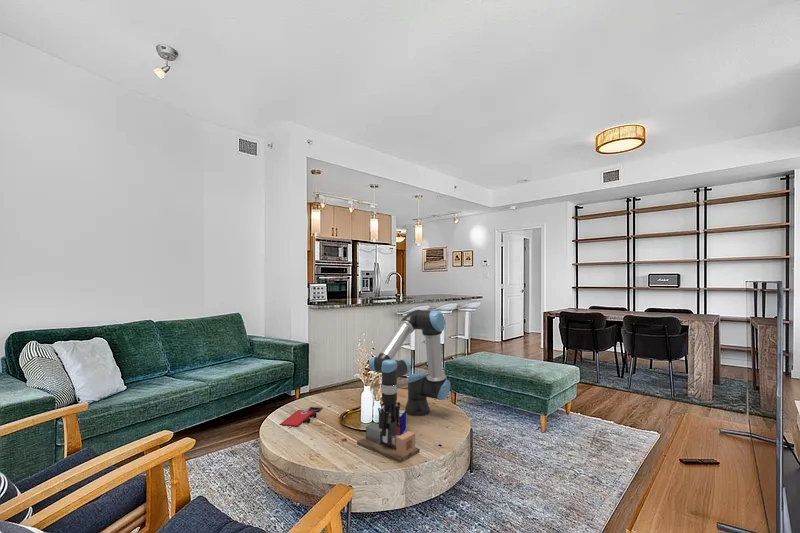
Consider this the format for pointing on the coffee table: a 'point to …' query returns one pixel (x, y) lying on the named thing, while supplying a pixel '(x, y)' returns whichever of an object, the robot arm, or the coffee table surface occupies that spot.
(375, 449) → the walnut base board
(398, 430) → the puzzle cube
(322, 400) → the coffee table surface
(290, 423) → the red board with handle
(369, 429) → the grey stepped block
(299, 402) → the coffee table surface
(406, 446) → the terracotta socket
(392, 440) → the slip bar
